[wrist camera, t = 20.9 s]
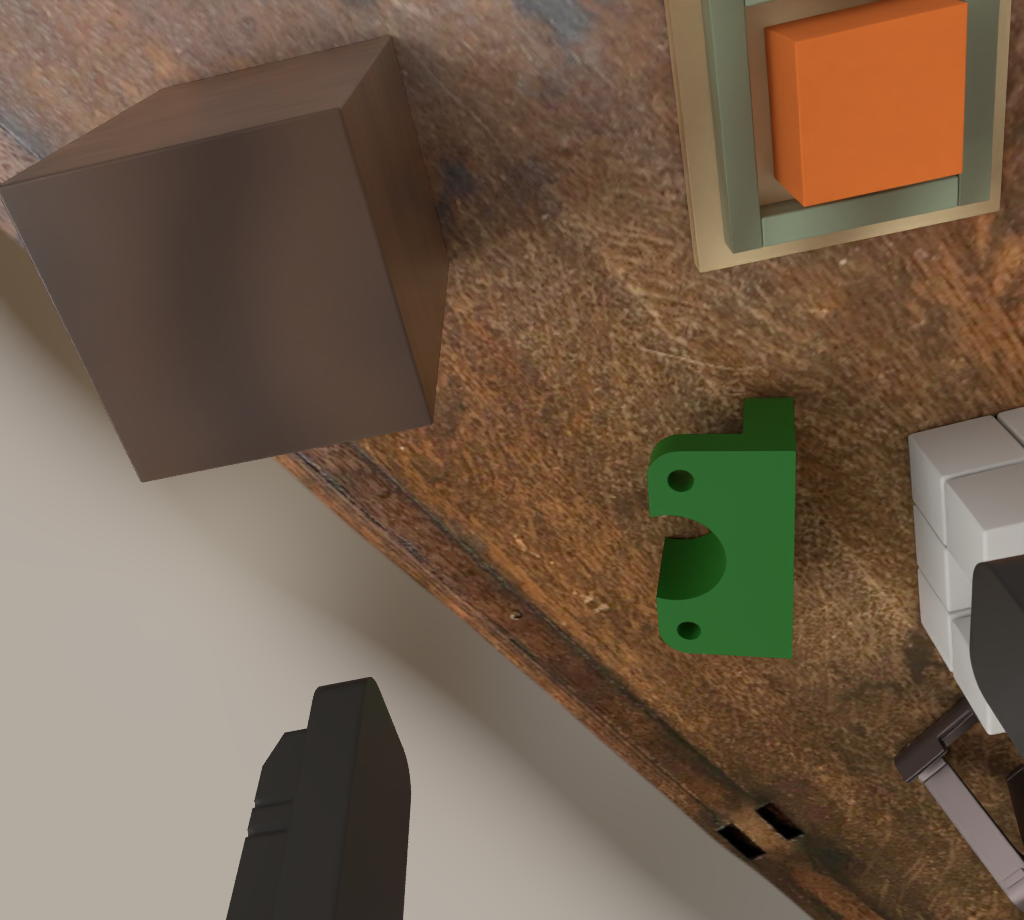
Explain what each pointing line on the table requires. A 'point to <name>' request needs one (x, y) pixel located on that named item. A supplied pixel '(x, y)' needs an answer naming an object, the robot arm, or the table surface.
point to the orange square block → (867, 97)
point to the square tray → (748, 141)
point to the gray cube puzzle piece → (965, 528)
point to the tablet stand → (967, 798)
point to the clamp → (729, 535)
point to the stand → (247, 261)
